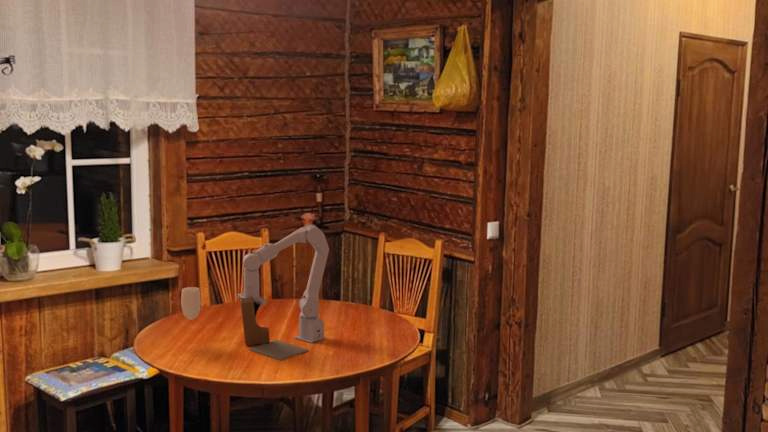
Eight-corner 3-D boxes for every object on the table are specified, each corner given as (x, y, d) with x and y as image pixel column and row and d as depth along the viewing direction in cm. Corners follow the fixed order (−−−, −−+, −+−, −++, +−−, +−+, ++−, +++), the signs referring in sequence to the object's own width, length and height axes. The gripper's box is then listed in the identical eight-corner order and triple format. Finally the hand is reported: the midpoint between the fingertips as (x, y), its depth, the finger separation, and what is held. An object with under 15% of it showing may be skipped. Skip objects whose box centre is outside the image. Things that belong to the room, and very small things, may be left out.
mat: (308, 351, 281) (308, 349, 281) (280, 360, 270) (280, 359, 270) (276, 341, 291) (276, 339, 291) (248, 349, 281) (248, 348, 281)
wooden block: (269, 337, 290) (265, 295, 284) (269, 343, 286) (265, 301, 279) (245, 339, 289) (240, 297, 282) (245, 346, 285) (240, 303, 278)
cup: (205, 340, 290) (204, 287, 287) (195, 346, 283) (194, 292, 280) (188, 338, 292) (187, 286, 289) (178, 344, 285) (176, 290, 282)
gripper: (230, 284, 288) (231, 318, 290) (256, 290, 279) (256, 326, 281) (245, 280, 294) (245, 315, 296) (270, 287, 284) (270, 322, 287)
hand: (251, 320), depth 289 cm, fingers closed
